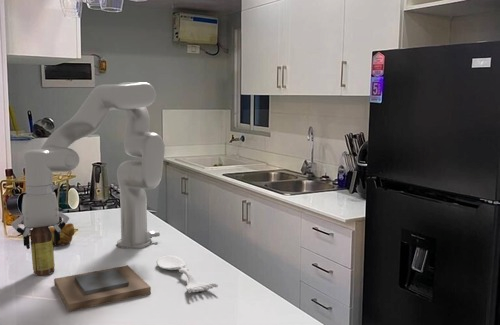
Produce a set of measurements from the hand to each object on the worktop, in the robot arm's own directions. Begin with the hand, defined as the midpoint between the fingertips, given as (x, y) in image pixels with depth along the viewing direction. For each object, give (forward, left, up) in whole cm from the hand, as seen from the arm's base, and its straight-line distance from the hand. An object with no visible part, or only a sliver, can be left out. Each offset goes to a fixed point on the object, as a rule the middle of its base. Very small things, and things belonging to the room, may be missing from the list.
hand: (42, 245), depth 146 cm
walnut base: (-12, +22, -9) cm, 27 cm away
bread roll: (-9, -29, -9) cm, 31 cm away
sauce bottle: (0, 0, -9) cm, 9 cm away
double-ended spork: (-36, +26, -9) cm, 45 cm away
